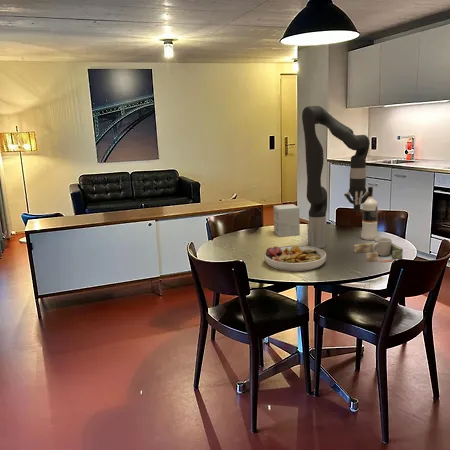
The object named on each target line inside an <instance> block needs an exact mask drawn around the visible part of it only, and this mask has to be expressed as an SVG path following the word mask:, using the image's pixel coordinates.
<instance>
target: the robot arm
mask: <svg viewBox="0 0 450 450" xmlns="http://www.w3.org/2000/svg"><path fill="white" fill-rule="evenodd" d="M301 113H302V114H301V119H302V129H303V133H304V134H303V135H304V147H305V148H304V149H305V163H306V166H305V167H306V177H307V179H306V181H307V182H306V199H307V202H308V203H309V204H310V207H309V209H308V229H307V246H309V247H315V248H318V249H323V248H326V247H327V211H328V192H327V189H326V188H325V187H324V186H322V178H321V177H322V173H323V167H324V161H325V160H324V159H325V158H324V148H323V145H322V144H321V142H320V140H319V138H318V136H317V133H316V125H321V126H322V125H323V126H324V127H326V128H327V129H328V130H329V132H330V134H332V136H333V137H335V138H336V139H338V140H339V141H342V143H343V144H344V145H345V146H346V148H348V149H350V150H352V151H355V153H354V155H352V156H351V157H350V168H349V170H350V171H349V189H348V191H347V192H346V193H344V194H343V195H344V196H343V197H345V198H346V200H348V202H349V203H350V204H352V205H353V211H354V213H359V212H361V206H362V205H361V204H363V203H364V202H365V201H366V200H367V199H368V197H369V196H370V193H368V190H367V188H366V186H367V185H366V184H367V169H366V167H367V165H366V164H367V157H368V155H369V154H368V153H369V150H370V144H371V143H370V139H369V137H368V135H366V134H357V135H356V134H354V131H353V129H351V128H350V127H349V126H347V125H345V124H343V123H342V122H340V121H339V120H337V118H335V117H334V116H332V114H330V113H329V112H328V111H327V110H326V109H325V108H324V107H322V106H320V105H313V106H312V105H311V106H310V105H309V106H305V107H304V108H303V110H302V112H301ZM351 197H352V198H351Z"/></svg>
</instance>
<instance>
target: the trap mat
mask: <svg viewBox="0 0 450 450" xmlns="http://www.w3.org/2000/svg"><path fill="white" fill-rule="evenodd" d="M393 260H394V259H392V258H391V259H381V260H379V262H380V263H382V262H383V263H391V262H392V261H393ZM393 262H394V261H393ZM393 262H392V263H393Z"/></svg>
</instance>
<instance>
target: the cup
mask: <svg viewBox="0 0 450 450" xmlns="http://www.w3.org/2000/svg"><path fill="white" fill-rule="evenodd" d="M373 243H374V244H373V246H372V249H373V251H372V252H373V253H374V252H377V253H378V256H380V257H386V256H389V255H391V254H390V249H391V243H393V240H392V239H391V238H390V237H378V238H376V239H375V240H374V242H373ZM375 247H376V250H375Z"/></svg>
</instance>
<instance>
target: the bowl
mask: <svg viewBox="0 0 450 450" xmlns="http://www.w3.org/2000/svg"><path fill="white" fill-rule="evenodd" d="M264 259H265V262H266V263H267V264H268V266H270V267H272V268H273V269H276V270H280V271H284V270H285V271H287V272H304V271H310V270H311V271H312V270H314V269H317V268H319V267H321V266H322V265H324V263H325V261H326V260H327V253H326V251H324V250H323V249H322V248H315V247H309V246H308V245H285V246H284V245H283V246H273V247H268V248H267V249H266V252H265V253H264Z"/></svg>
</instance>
